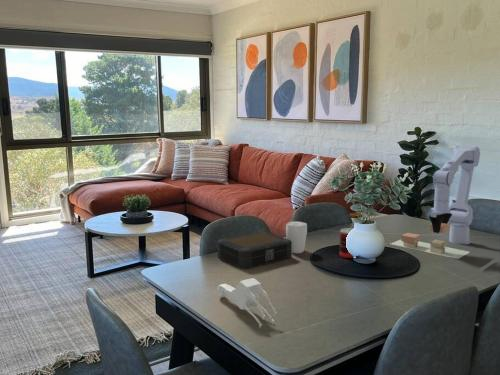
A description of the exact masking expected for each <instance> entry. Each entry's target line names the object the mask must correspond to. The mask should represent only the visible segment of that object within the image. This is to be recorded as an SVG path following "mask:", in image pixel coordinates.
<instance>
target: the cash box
mask: <svg viewBox="0 0 500 375" xmlns="http://www.w3.org/2000/svg"><path fill="white" fill-rule="evenodd" d="M292 256H293V253H292V241H291V240H288V239H287V237H286V238H285V237H283V236H279V235H276V234H273V233H270V232H267V231H264V230H263V231H257V232H252V233H246V234H242V235H237V236H236V235H235V236H231V237H227V238H222V239H219V240H217V257H218V258H217V259H221V260H222V261H224V262H227V263H228V264H230V265H233V266H234V267H235V266H236V267H238V268H240V269H242V270H248V269H253V268H257V267H260V266H264V265H268V264H271V263H272V264H273V263H275V262H276V263H277V262H281V261H284V260H288V259H291V258H292Z"/></svg>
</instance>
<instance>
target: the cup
mask: <svg viewBox="0 0 500 375" xmlns="http://www.w3.org/2000/svg"><path fill="white" fill-rule="evenodd" d="M285 226H286V227H285V234H286V235H285V236H286V239H288V240H291V241H292V254H301V253H304V252H305V246H306V242H307V241H306V240H307V234H308V225H307V223H306V222H303V221H289V222H288V221H287V223H286V225H285Z"/></svg>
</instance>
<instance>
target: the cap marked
mask: <svg viewBox="0 0 500 375" xmlns="http://www.w3.org/2000/svg"><path fill="white" fill-rule="evenodd" d="M400 240H401V241H403V242H408V243H413V244H415V243H417V242H419V241H420V242H421V234H417V233H413V232H412V233H411V232H406V233H403V234H402V235H401V239H400Z"/></svg>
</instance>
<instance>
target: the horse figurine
mask: <svg viewBox="0 0 500 375" xmlns="http://www.w3.org/2000/svg"><path fill="white" fill-rule="evenodd" d="M216 290H217V295H218V296H219V299H224V298H226V296H227V297H228V298H229V299H230V300H232V301H233V302H234V303H235V305H236V306H237V307H238V308H239V309H240V310H246V311H247V312H248V313H249V314H250V315H251V316H252V317H253V318H254V319H255V321H256V322H257V323H258V326H259V329H261V328H262V326H263V324H262V323H261V321H260V320H259V318H258V317H257V316H256V315H255V314H254V312H252V311H251V309H250V307H257V308H258V310H259V312H260V314H261V317H262V320H265V318H266V316H267V317H268V319H270V322H271V324H274V323H275V320H274V319H273V318H272V315H271V314H269V313H268V311H267V310H266V309H265V308H264V307H263V306H262V305H261V304H260V302H259V300H260V294H261V295H262V296H263V297H265V299H266V300H267V302H268V303H269V305H270V308H271V309H272V311H273V315H274V316H275V317H276V316H277V314H278V313H277V312H278V311H276V308H275V307H274V306H273V303H272V301H271V300H270V298H269V295H268V293H267V292H266V291H265V290H264V289H263V287H262V283H261V282H259V281H258V280H257V279H256V278H254V277H252V278H248V279H247V278H246V279H244V280H243V279H242V280H239V282H238V284H237V285H236V287H233V286H232V285H229V284H227V283H221V284H219V285H218V286H217V288H216ZM265 314H266V315H265Z"/></svg>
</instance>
